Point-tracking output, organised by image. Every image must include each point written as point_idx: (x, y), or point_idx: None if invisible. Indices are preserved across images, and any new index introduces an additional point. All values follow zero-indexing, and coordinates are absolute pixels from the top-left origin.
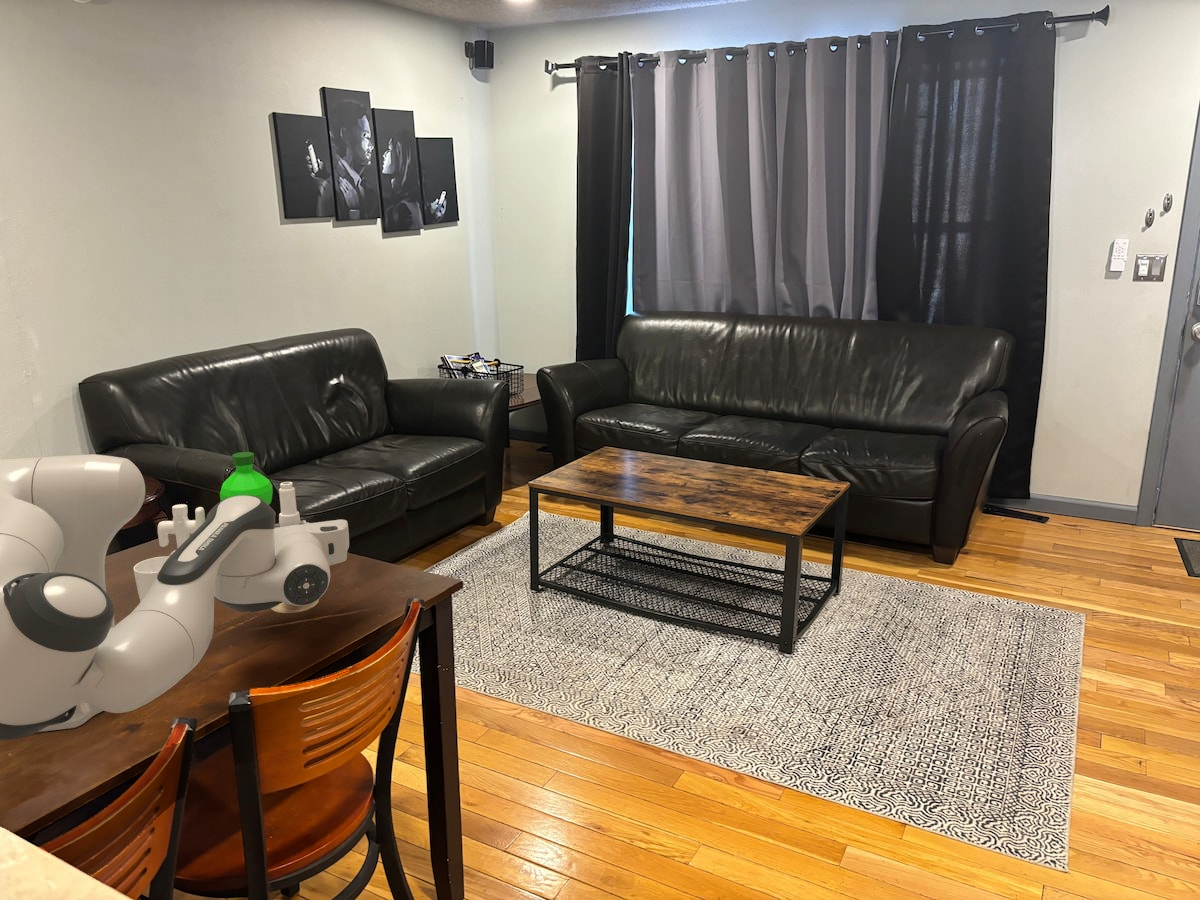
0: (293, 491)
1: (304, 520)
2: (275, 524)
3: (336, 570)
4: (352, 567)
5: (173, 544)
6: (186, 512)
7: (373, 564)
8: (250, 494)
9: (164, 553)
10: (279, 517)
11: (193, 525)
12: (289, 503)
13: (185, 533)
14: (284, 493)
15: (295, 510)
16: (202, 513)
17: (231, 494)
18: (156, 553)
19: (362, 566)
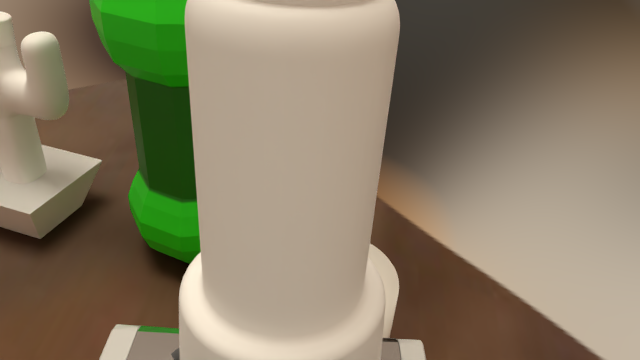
0: (379, 58)
1: (415, 352)
2: (148, 345)
3: (448, 351)
4: (502, 349)
5: (88, 104)
6: (2, 43)
7: (575, 353)
8: (181, 15)
9: (51, 126)
10: (179, 311)
11: (21, 92)
12: (292, 221)
13: (4, 112)
14: (236, 68)
15: (353, 290)
16: (44, 57)
17: (110, 1)
18: (37, 122)
19: (537, 354)
